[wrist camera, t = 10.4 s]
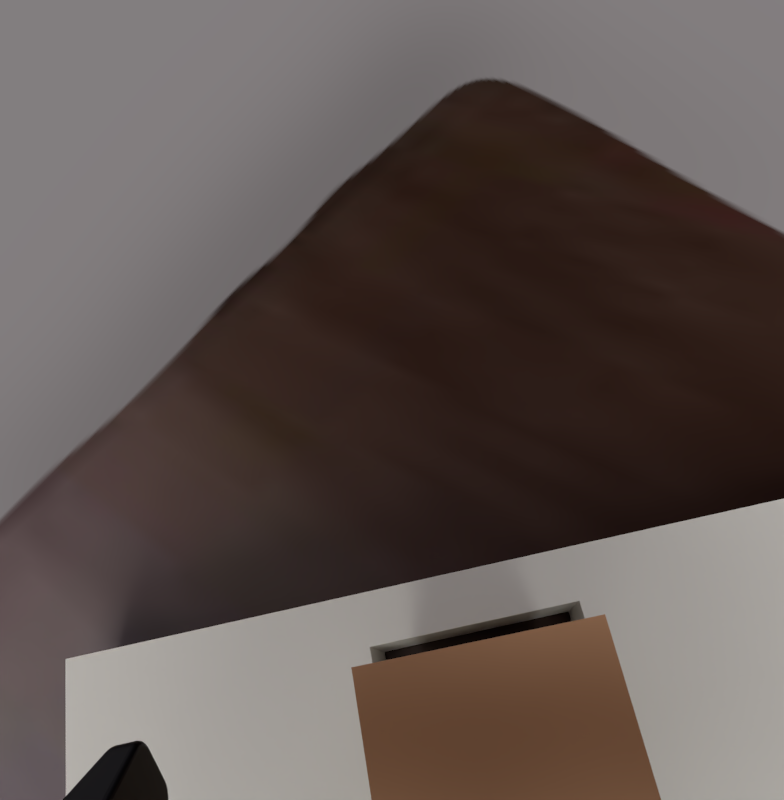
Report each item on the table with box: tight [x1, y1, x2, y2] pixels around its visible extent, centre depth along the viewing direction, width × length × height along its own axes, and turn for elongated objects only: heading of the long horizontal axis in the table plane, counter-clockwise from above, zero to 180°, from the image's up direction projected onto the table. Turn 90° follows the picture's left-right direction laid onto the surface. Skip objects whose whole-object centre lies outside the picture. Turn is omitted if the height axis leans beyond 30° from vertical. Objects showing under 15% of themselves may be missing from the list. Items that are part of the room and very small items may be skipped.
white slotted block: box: [65, 499, 784, 800], centre depth 19 cm, size 9×24×3 cm, turn 101°
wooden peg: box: [351, 614, 661, 800], centre depth 15 cm, size 4×4×12 cm
